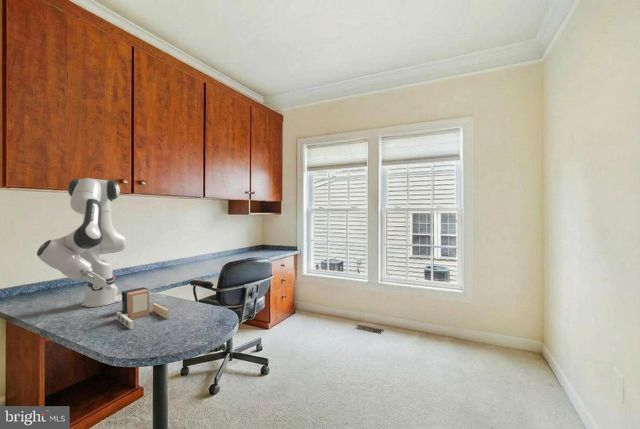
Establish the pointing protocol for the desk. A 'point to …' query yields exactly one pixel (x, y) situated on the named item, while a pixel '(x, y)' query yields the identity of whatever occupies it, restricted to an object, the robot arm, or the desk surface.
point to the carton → (138, 304)
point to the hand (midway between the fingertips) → (107, 287)
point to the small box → (124, 298)
